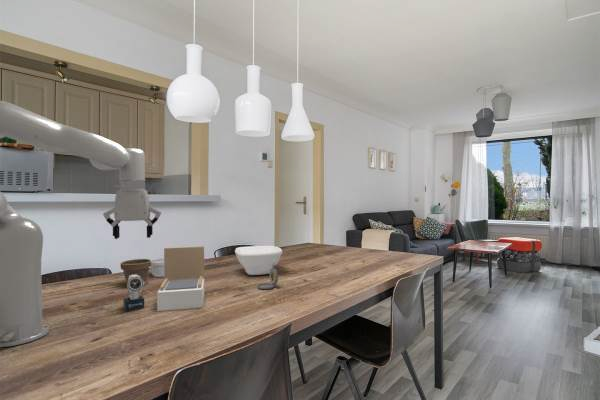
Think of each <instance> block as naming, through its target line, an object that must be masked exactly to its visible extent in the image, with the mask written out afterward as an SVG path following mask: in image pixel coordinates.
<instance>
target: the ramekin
mask: <svg viewBox="0 0 600 400" xmlns="http://www.w3.org/2000/svg"><path fill="white" fill-rule="evenodd" d="M150 260H151V266H150V272H151V275H152V276H153V277H156V278H164V257H161V258H155V259H150Z"/></svg>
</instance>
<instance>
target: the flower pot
mask: <svg viewBox="0 0 600 400" xmlns="http://www.w3.org/2000/svg"><path fill="white" fill-rule="evenodd" d="M151 260H152V259H148V258H137V259H136V258H135V259H130V260H125V261H121V262H120V265H119V266H120V269H121V270H122V272H123V274H124V278H125V281H126V283H127V282H128V279H129V275H135V274H137V275H138V276H140V278H141V279H142V280H143V282H145V284H144V285H146V283H147V278H148V274H149V269H150V268H151ZM144 285H143V286H144Z"/></svg>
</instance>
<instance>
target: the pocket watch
mask: <svg viewBox="0 0 600 400" xmlns="http://www.w3.org/2000/svg"><path fill="white" fill-rule="evenodd" d="M273 263H275V262H273ZM272 265H273V268H271V270H270V273H269V280H270V283H266V282H264V283H258V284H257V288H258V289H259V290H270V289H273V288H274V287H275V285H277V284H278V282H279V276H278V275H279V274H278V271H277V269H276V268H275V266H276V264H275V265H274V264H272Z"/></svg>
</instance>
